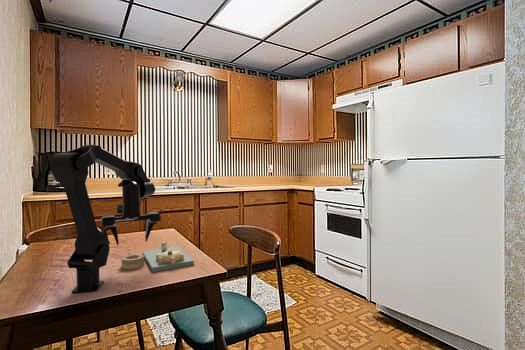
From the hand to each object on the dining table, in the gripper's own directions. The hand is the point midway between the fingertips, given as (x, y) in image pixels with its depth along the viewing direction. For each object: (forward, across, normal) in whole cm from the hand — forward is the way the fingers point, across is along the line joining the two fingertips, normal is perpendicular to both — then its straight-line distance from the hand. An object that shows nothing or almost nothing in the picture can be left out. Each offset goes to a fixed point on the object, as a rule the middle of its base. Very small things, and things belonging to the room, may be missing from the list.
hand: (132, 242), depth 103 cm
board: (+8, -12, 0) cm, 14 cm away
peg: (+6, -12, -5) cm, 14 cm away
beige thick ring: (+8, 0, 0) cm, 8 cm away
